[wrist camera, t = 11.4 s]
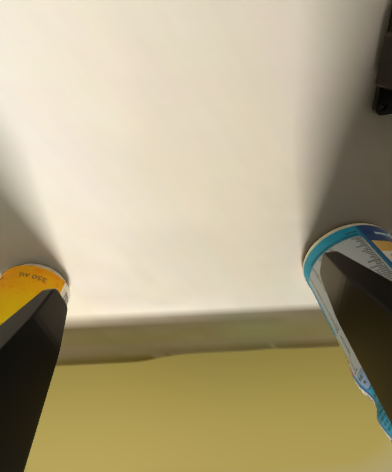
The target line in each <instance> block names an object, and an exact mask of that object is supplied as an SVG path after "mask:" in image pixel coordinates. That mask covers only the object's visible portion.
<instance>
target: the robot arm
mask: <svg viewBox="0 0 392 472" xmlns="http://www.w3.org/2000/svg"><path fill="white" fill-rule="evenodd" d="M376 84H377V88H376V93H375V98H374V103H373V112H374V113H375V114H377V115H387V114H392V12H391V17H390V22H389V27H388V32H387V35H386V36H385V38H384V42H383V48H382V53H381V58H380V63H379V68H378V73H377V78H376ZM382 104H384V107H383V108H382V109H381V110H380V106H381V105H382ZM320 276H321V279H322V282H323V285H324V287H325V290H326V293H327V295H328V298H329V301H330V303H331V306H332V308H333V311H334V314H335V316H336V318H337V320H338V322H339V325H340V327H341V328H342V330H343V332H344V334H345V336H346V338H347V340H348V342H349V344H350V346H351V348H352V350H353V351H354V353H355V355H356V357H357V359H358V361H359V363H360V365H361V367H362V369H363V371H364V373H365V375H366V376H367V378H368V380H369V382H370V384H371V386H372V388H373V390H374V392H375V394H376V396H377V398H378V400H379V401H380V403H381V405H382V407H383V409H384V411H385V413H386V415H387V417H388V419H389V421H390V423H391V424H392V281H391V280H389V279H387V278H385V277H383V276H382V275H380V274H378V273H376V272H374V271H373V270H371V269H369V268H367V267H365V266H364V265H362V264H360V263H358V262H356V261H355V260H353V259H351V258H349V257H347V256H345V255H344V254H342V253H340V252H338V251H329V252H325V253H323V255H322V260H321V267H320ZM66 314H67V305H66V302H65V301H64V299H63V298H62V296H61V294H60V293H59V291H58V290H57V289H55V288H52V289H45V290H42V291H41V292H40V293H39V294H37V295H36V296H35V297H34V298H33V299H31V300H30V301H29V302H28V303H27V304H25V305H24V306H23V307H22V308H20V309H19V310H18V311H17V312H16V313H14V314H13V315H12V316H11V317H9V318H8V319H7V320H6V321H5V322H3V323H2V324H1V325H0V472H24V469H25V466H26V462H27V459H28V456H29V452H30V449H31V446H32V442H33V439H34V436H35V432H36V429H37V425H38V422H39V419H40V416H41V412H42V409H43V406H44V402H45V399H46V395H47V392H48V389H49V386H50V382H51V379H52V375H53V372H54V368H55V365H56V362H57V359H58V355H59V351H60V347H61V341H62V336H63V331H64V325H65V320H66Z"/></svg>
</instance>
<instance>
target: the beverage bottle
mask: <svg viewBox="0 0 392 472" xmlns="http://www.w3.org/2000/svg"><path fill="white" fill-rule="evenodd" d="M329 251H338V252H340V253H342V254H344V255H345V256H347V257H349V258H351V259H353V260H355V261H356V262H358V263H360V264H362V265H364V266H365V267H367V268H369V269H371V270H373V271H374V272H376V273H378V274H380V275H382V276H383V277H385V278H387V279H389V280H391V281H392V235H391V234H389V233H388V232H387V231H386V230H385V229H383V228H381V227H379V226H376V225H373V224H367V223H356V224H349V225H345V226H342V227H339V228H336V229H334V230H332V231H330V232H328V233H327V234H325V235H324V236H322V237H321V238H320V239H318V240H317V241H316V242H315V243H314V244H313V245H312V247H311V248H310V249H309V251H308V252H307V254H306V256H305V259H304V263H303V273H304V277H305V279H306V281H307V283H308V285H309V287H310V288H311V290H312V291H313V293H314V295H315V297H316V299H317V301H318V303H319V305H320V307H321V309H322V311H323V313H324V315H325V317H326V319H327V321H328V323H329V325H330V327H331V329H332V331H333V333H334V335H335V337H336V339H337V341H338V343H339V345H340V347H341V349H342V351H343V353H344V355H345V357H346V359H347V361H348V363H349V365H350V370H351V373H352V376H353V378H354V380H355V382H356V383H357V385H358V387H359V388H360V390H361V391H362V392H363V393H364V394H365V395H366V396H367V397H368V398H369V399H370V400H372V401H373V402H374V403H375V405H376V407H377V419H378V422H379V425H380V426H381V428H382V430H383V431H384V432H385V434H386V435H387V436H388V437H389V439H390V440H391V441H392V424H391V423H390V421H389V419H388V417H387V415H386V413H385V411H384V409H383V407H382V405H381V403H380V401H379V400H378V398H377V396H376V394H375V392H374V390H373V388H372V386H371V384H370V382H369V380H368V378H367V376H366V375H365V373H364V371H363V369H362V367H361V365H360V363H359V361H358V359H357V357H356V355H355V353H354V351H353V350H352V348H351V346H350V344H349V342H348V340H347V338H346V336H345V334H344V332H343V330H342V328H341V327H340V325H339V322H338V320H337V318H336V316H335V314H334V311H333V308H332V306H331V303H330V301H329V298H328V295H327V293H326V290H325V287H324V285H323V282H322V279H321V276H320V267H321V260H322V255H323V253H325V252H329Z"/></svg>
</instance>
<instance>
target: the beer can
mask: <svg viewBox="0 0 392 472" xmlns="http://www.w3.org/2000/svg"><path fill="white" fill-rule="evenodd" d="M52 288H55V289H57V290H58V291H59V293H60V294H61V296H62V298H63V299H64V301H65V302H66V305H67V303H68V301H69V299H70V290H69V287H68V286H67V283H66V281H65V279H64V278H63V277H62V275H60V274H59V273H58V272H57V271H55V270H54V269H52V268H50V267H47V266H44V265H40V264H24V265H20V266H15V267H12V268H10V269H8V270H7V271H5V272H4V273H3V275H2V276H1V277H0V325H1V324H2V323H3V322H5V321H6V320H7V319H8V318H9V317H11V316H12V315H13V314H14V313H16V312H17V311H18V310H19V309H20V308H22V307H23V306H24V305H25V304H27V303H28V302H29V301H30V300H31V299H33V298H34V297H35V296H36V295H37V294H39V293H40V292H41V291H42V290H45V289H52Z"/></svg>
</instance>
